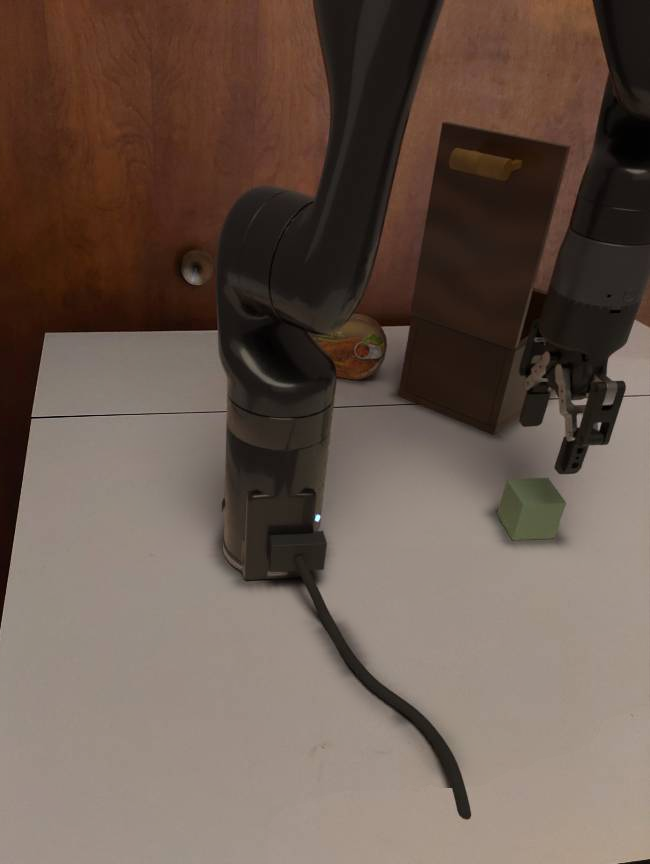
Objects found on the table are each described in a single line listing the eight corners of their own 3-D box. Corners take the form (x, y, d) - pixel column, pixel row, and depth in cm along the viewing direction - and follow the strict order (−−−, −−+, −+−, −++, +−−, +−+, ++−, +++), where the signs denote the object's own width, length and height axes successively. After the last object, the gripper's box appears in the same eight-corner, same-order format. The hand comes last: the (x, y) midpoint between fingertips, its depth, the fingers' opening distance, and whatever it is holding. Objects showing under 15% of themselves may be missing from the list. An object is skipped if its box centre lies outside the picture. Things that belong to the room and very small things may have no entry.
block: (554, 538, 82) (566, 503, 79) (512, 540, 81) (523, 504, 78) (537, 512, 85) (548, 477, 82) (496, 514, 85) (506, 478, 82)
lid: (446, 121, 85) (419, 128, 82) (570, 145, 78) (546, 154, 75) (413, 310, 98) (389, 322, 95) (518, 346, 91) (495, 360, 88)
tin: (271, 367, 110) (275, 308, 105) (277, 357, 113) (281, 299, 107) (380, 385, 107) (389, 325, 102) (384, 374, 109) (393, 315, 104)
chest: (474, 349, 117) (491, 274, 110) (565, 381, 110) (589, 304, 103) (397, 395, 105) (411, 315, 98) (493, 435, 98) (515, 351, 91)
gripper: (521, 256, 73) (484, 412, 83) (593, 321, 62) (540, 492, 72) (599, 254, 74) (552, 409, 84) (683, 318, 63) (618, 487, 73)
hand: (546, 447), depth 78 cm, fingers open, 8 cm apart
